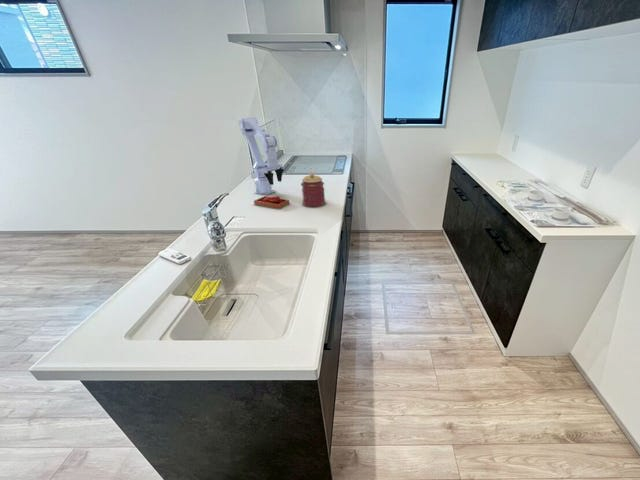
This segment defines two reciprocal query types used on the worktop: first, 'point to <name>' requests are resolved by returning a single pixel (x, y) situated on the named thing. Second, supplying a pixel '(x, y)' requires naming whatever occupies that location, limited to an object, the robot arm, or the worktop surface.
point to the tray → (277, 206)
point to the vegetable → (272, 200)
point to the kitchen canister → (313, 191)
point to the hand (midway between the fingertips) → (275, 182)
